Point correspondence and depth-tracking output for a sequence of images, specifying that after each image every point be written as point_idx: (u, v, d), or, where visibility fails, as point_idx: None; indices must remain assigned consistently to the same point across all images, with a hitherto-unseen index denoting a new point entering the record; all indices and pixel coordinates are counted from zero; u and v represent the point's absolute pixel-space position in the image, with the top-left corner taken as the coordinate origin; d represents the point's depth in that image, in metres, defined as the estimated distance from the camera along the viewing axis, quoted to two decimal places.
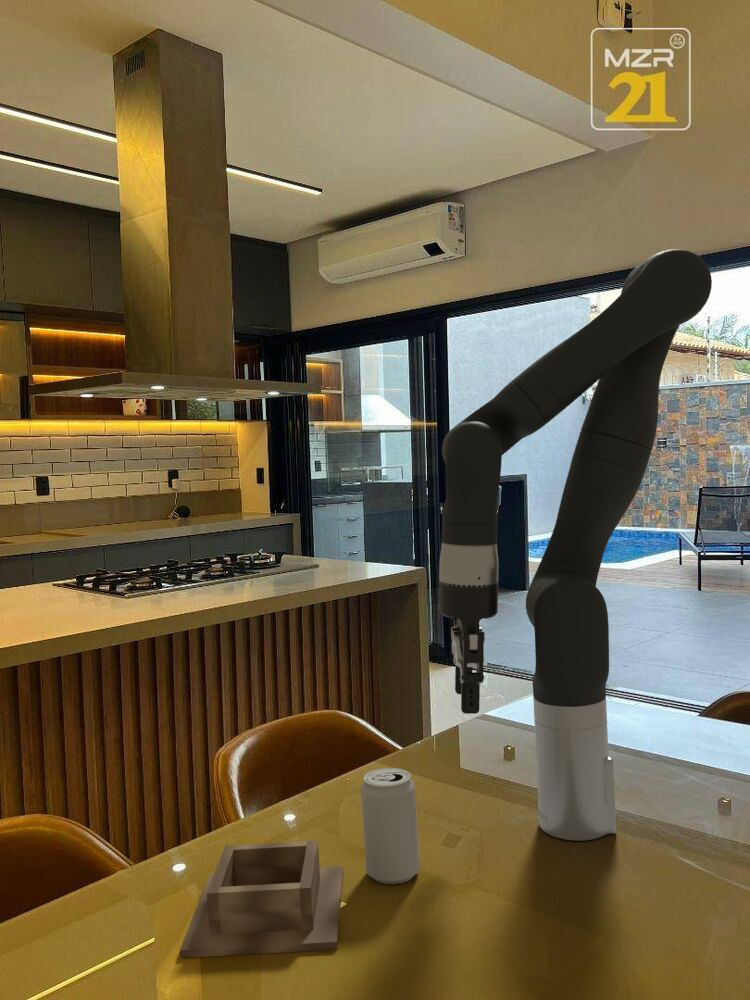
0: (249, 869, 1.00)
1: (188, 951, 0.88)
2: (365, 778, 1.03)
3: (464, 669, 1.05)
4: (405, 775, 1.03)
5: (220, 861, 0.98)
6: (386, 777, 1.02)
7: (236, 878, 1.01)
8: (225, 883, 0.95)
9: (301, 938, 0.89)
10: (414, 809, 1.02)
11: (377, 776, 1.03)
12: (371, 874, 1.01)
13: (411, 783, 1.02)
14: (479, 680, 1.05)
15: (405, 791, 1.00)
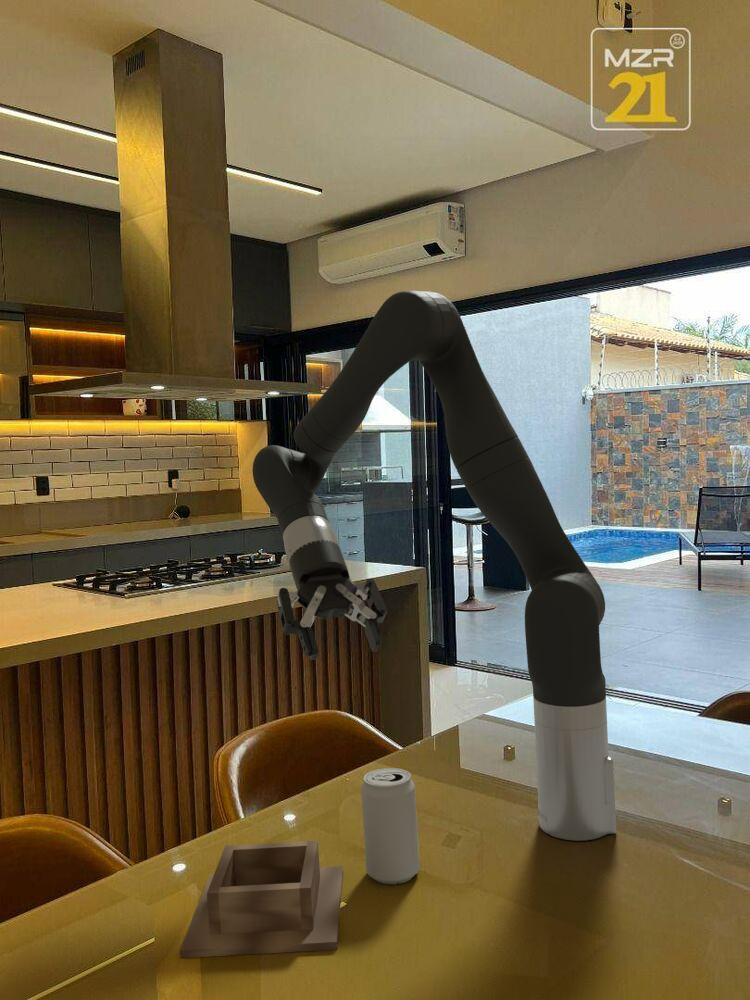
0: (249, 869, 1.00)
1: (188, 951, 0.88)
2: (365, 778, 1.03)
3: (281, 624, 1.14)
4: (405, 775, 1.03)
5: (220, 861, 0.98)
6: (386, 777, 1.02)
7: (236, 878, 1.01)
8: (225, 883, 0.95)
9: (301, 938, 0.89)
10: (414, 809, 1.02)
11: (377, 776, 1.03)
12: (371, 874, 1.01)
13: (411, 783, 1.02)
14: (286, 624, 1.12)
15: (405, 791, 1.00)
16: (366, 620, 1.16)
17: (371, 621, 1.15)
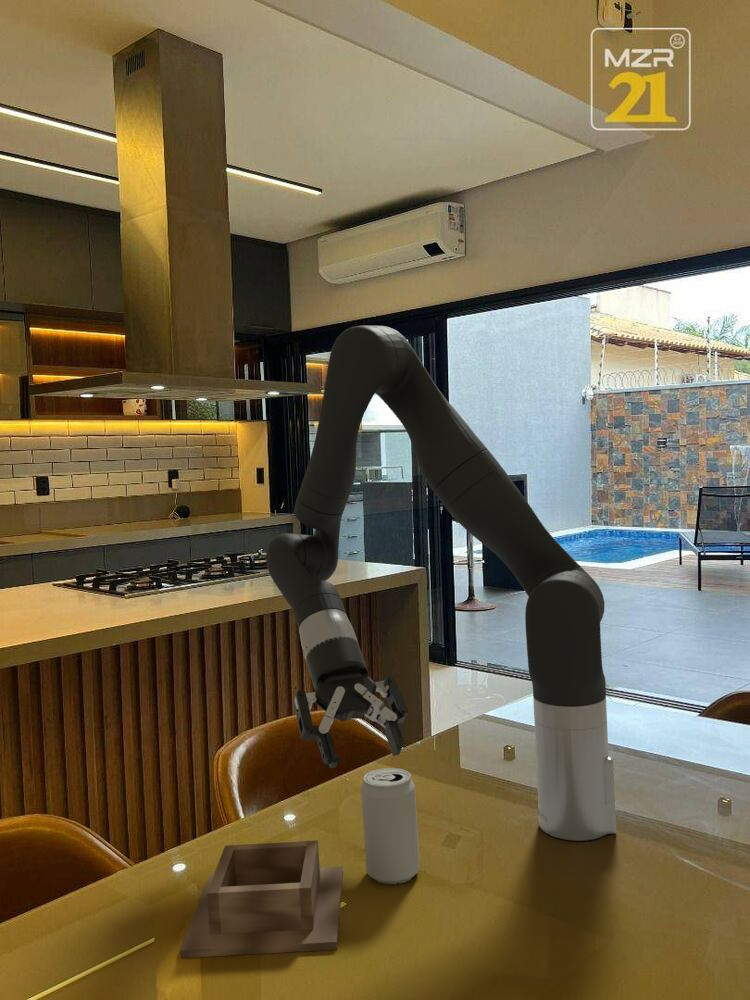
0: (249, 869, 1.00)
1: (188, 951, 0.88)
2: (365, 778, 1.03)
3: (299, 728, 1.11)
4: (405, 775, 1.03)
5: (220, 861, 0.98)
6: (386, 777, 1.02)
7: (236, 878, 1.01)
8: (225, 883, 0.95)
9: (301, 938, 0.89)
10: (414, 809, 1.02)
11: (377, 776, 1.03)
12: (371, 874, 1.01)
13: (411, 783, 1.02)
14: (304, 730, 1.09)
15: (405, 791, 1.00)
16: (386, 722, 1.13)
17: (392, 724, 1.12)
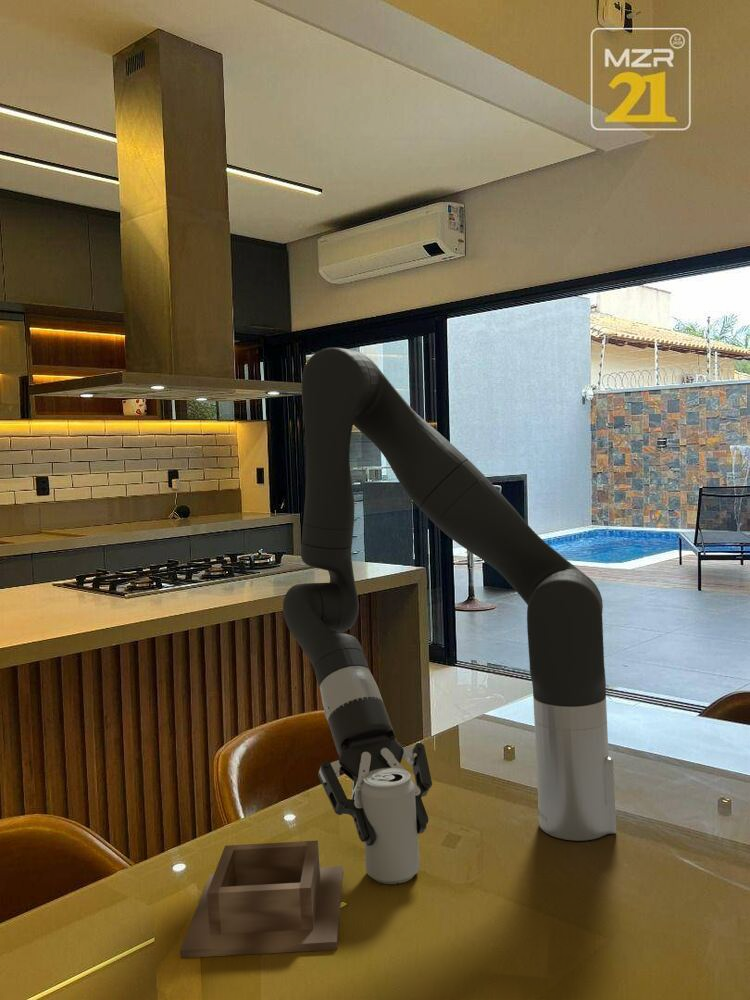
0: (249, 869, 1.00)
1: (188, 951, 0.88)
2: (365, 778, 1.03)
3: (331, 803, 1.03)
4: (404, 775, 1.03)
5: (220, 861, 0.98)
6: (386, 777, 1.02)
7: (236, 878, 1.01)
8: (225, 883, 0.95)
9: (301, 938, 0.89)
10: (414, 809, 1.02)
11: (377, 776, 1.03)
12: (371, 874, 1.01)
13: (411, 783, 1.02)
14: (339, 806, 1.02)
15: (405, 791, 1.00)
16: None
17: (415, 799, 1.04)
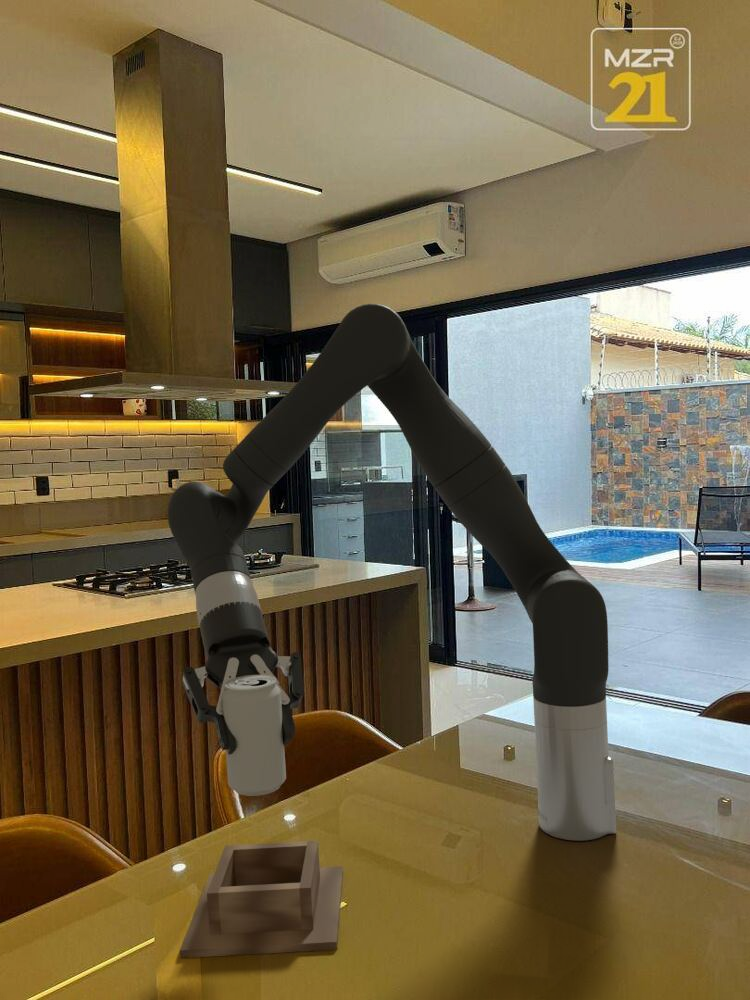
0: (249, 869, 1.00)
1: (188, 951, 0.88)
2: (227, 683, 0.95)
3: None
4: (270, 681, 0.95)
5: (220, 861, 0.98)
6: (249, 682, 0.95)
7: (236, 878, 1.01)
8: (225, 883, 0.95)
9: (301, 938, 0.89)
10: (278, 716, 0.94)
11: (241, 682, 0.96)
12: (231, 785, 0.94)
13: (275, 689, 0.94)
14: (200, 712, 0.94)
15: (267, 696, 0.93)
16: None
17: (282, 708, 0.96)
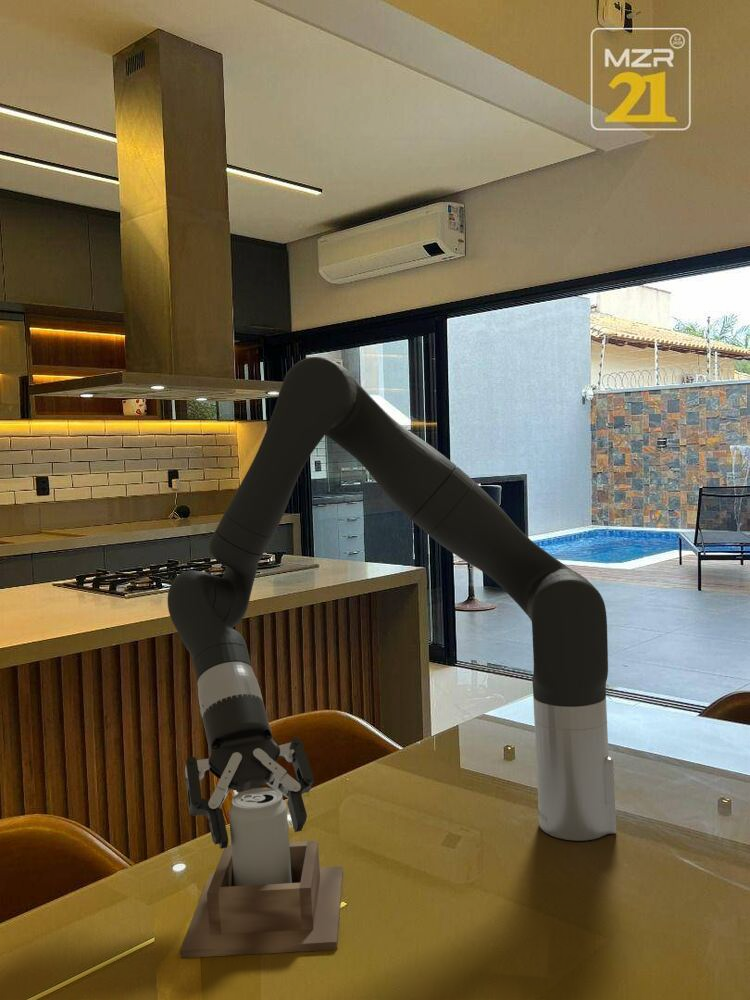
0: None
1: (188, 951, 0.88)
2: (233, 799, 0.96)
3: (188, 801, 0.98)
4: (276, 796, 0.97)
5: (220, 861, 0.98)
6: (256, 798, 0.96)
7: None
8: (225, 883, 0.95)
9: (301, 938, 0.89)
10: (284, 832, 0.96)
11: (247, 797, 0.97)
12: None
13: (282, 805, 0.96)
14: (191, 805, 0.96)
15: (273, 814, 0.94)
16: (289, 792, 1.00)
17: (294, 795, 0.99)
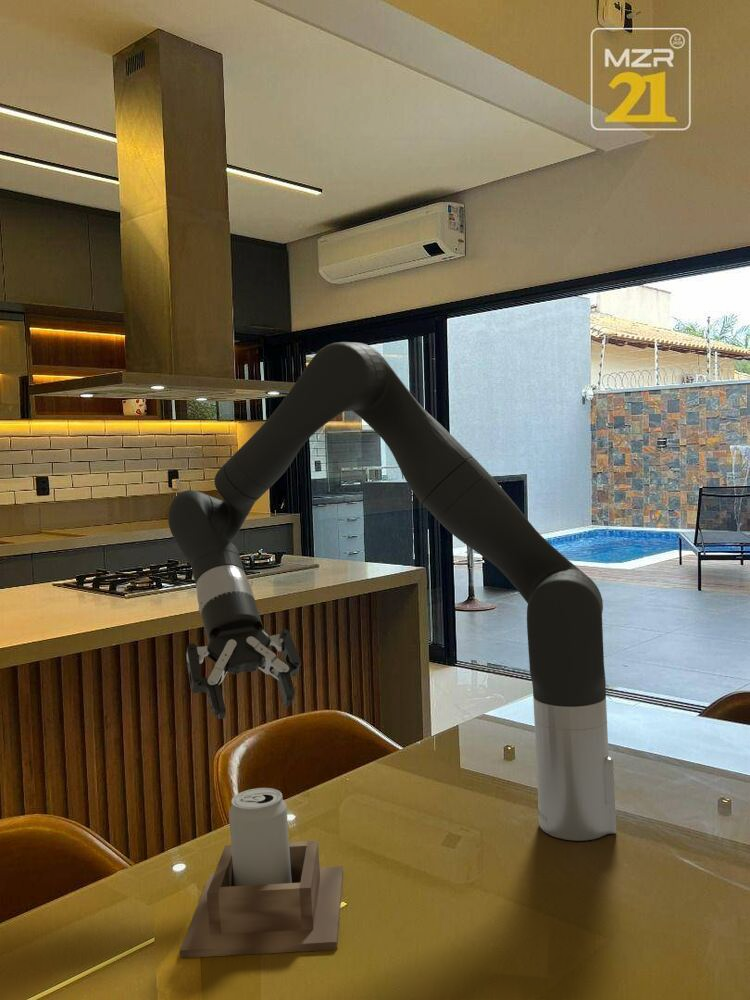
0: None
1: (188, 951, 0.88)
2: (233, 799, 0.96)
3: None
4: (276, 796, 0.97)
5: (220, 861, 0.98)
6: (255, 798, 0.96)
7: None
8: (225, 883, 0.95)
9: (301, 938, 0.89)
10: (284, 832, 0.96)
11: (247, 797, 0.97)
12: None
13: (281, 805, 0.96)
14: (193, 682, 1.09)
15: (273, 814, 0.94)
16: (279, 673, 1.13)
17: (283, 675, 1.12)
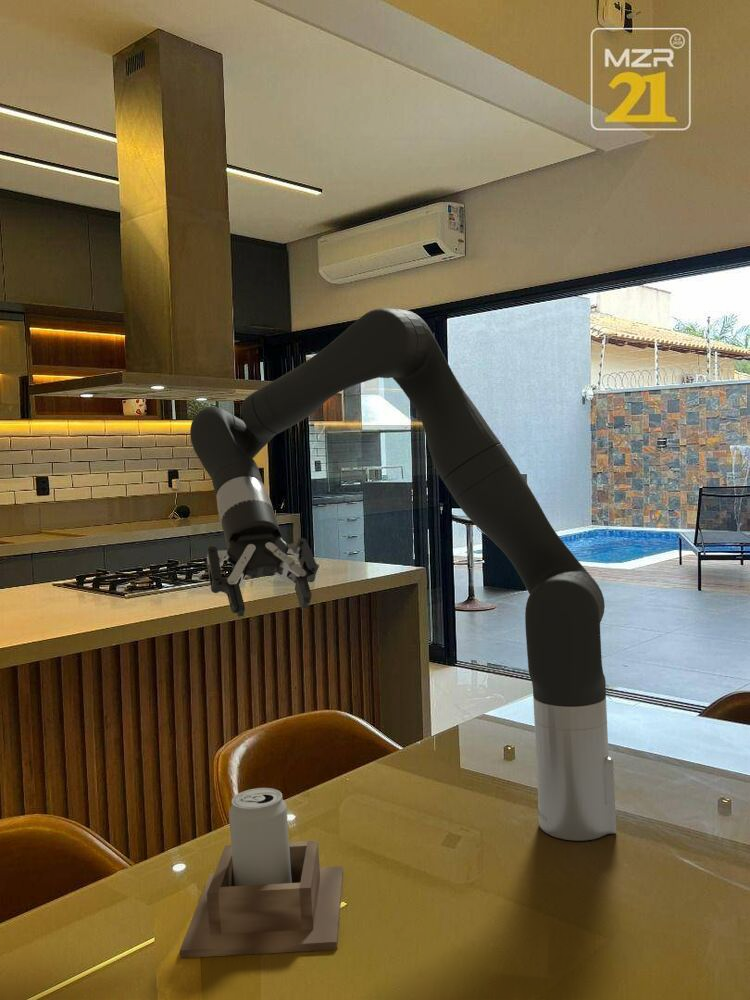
0: None
1: (188, 951, 0.88)
2: (233, 799, 0.96)
3: (210, 582, 1.14)
4: (276, 796, 0.97)
5: (220, 861, 0.98)
6: (255, 798, 0.96)
7: None
8: (225, 883, 0.95)
9: (301, 938, 0.89)
10: (284, 832, 0.96)
11: (247, 797, 0.97)
12: None
13: (282, 805, 0.96)
14: (213, 581, 1.12)
15: (273, 814, 0.94)
16: (296, 578, 1.16)
17: (300, 579, 1.15)
